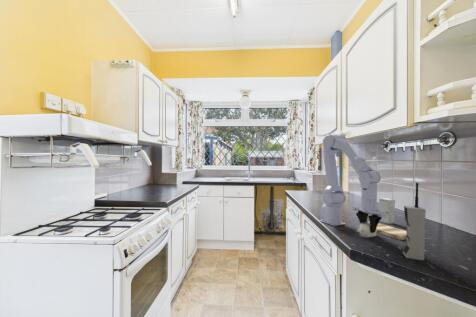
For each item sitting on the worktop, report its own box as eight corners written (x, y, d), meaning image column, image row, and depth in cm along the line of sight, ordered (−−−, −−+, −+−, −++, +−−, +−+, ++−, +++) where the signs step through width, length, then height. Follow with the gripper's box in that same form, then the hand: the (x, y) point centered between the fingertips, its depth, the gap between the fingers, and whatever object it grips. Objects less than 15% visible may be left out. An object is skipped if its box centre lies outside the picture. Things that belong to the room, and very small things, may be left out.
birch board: (364, 228, 109) (364, 225, 109) (379, 226, 113) (379, 223, 113) (400, 240, 95) (400, 236, 95) (415, 237, 99) (415, 233, 99)
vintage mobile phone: (402, 253, 81) (404, 181, 81) (420, 256, 79) (422, 182, 79) (405, 258, 78) (407, 182, 77) (424, 260, 76) (426, 183, 75)
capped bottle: (355, 235, 99) (355, 223, 99) (370, 232, 103) (370, 221, 103) (362, 238, 96) (362, 226, 96) (378, 235, 100) (378, 223, 100)
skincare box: (377, 220, 124) (378, 197, 124) (384, 220, 125) (384, 197, 125) (388, 224, 118) (388, 199, 118) (394, 223, 119) (395, 199, 119)
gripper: (347, 196, 105) (347, 226, 105) (378, 202, 92) (378, 237, 92) (359, 195, 108) (358, 225, 108) (390, 201, 94) (389, 235, 95)
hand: (368, 230), depth 100 cm, fingers closed on capped bottle, 4 cm apart
